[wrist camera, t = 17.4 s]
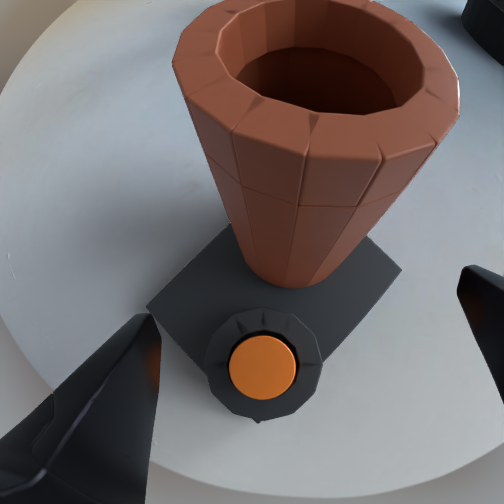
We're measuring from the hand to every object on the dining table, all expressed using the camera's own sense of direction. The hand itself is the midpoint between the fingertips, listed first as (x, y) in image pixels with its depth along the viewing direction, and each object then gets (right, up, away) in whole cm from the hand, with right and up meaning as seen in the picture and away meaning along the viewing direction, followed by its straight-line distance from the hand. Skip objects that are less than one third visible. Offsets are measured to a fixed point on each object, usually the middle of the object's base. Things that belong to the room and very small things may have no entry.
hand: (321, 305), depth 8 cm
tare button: (-1, -5, +8) cm, 9 cm away
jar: (+1, +2, +11) cm, 11 cm away
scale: (0, -1, +12) cm, 12 cm away
